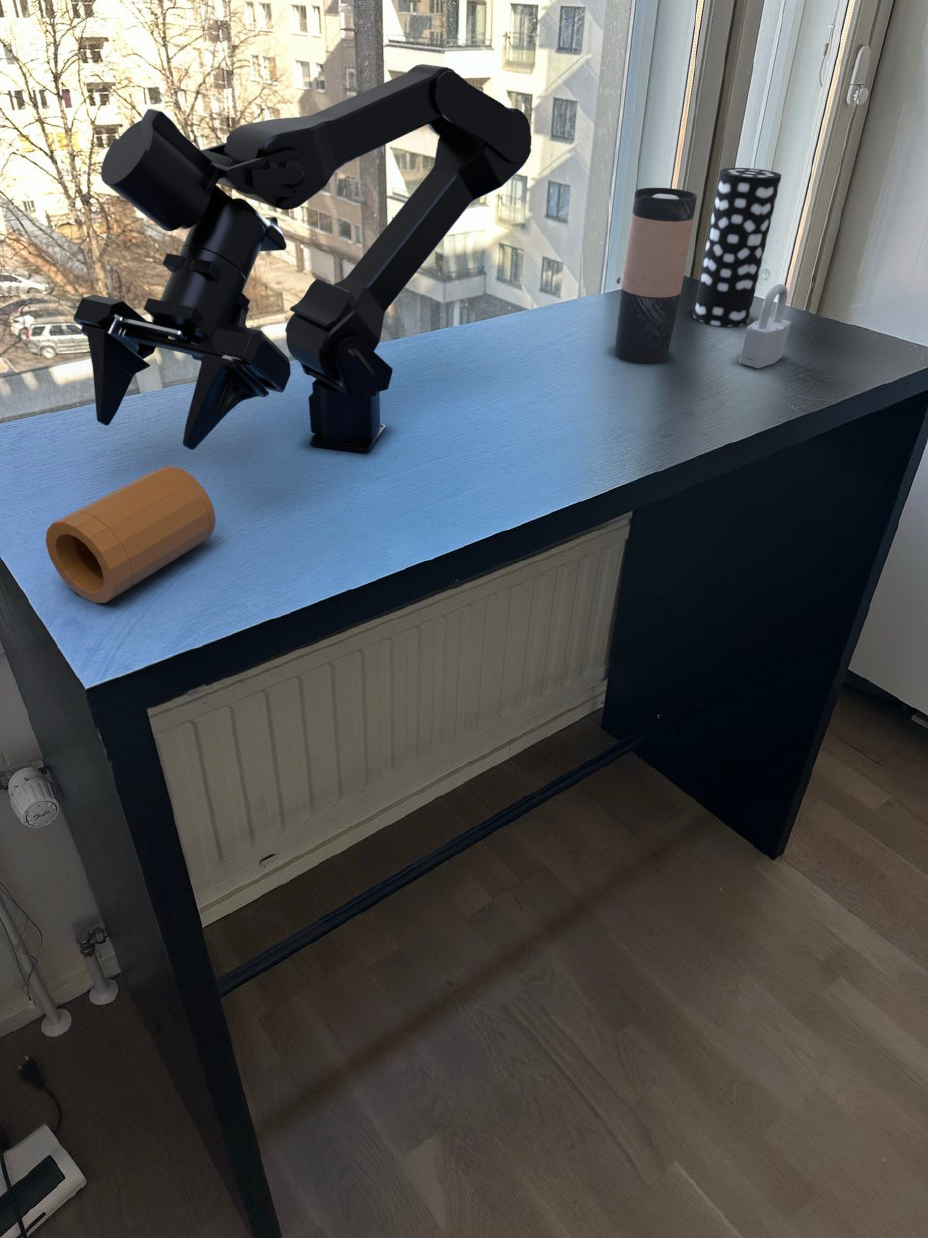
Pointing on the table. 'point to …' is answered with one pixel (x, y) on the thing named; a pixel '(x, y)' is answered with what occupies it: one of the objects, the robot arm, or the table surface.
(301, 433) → the table surface
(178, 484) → the jar
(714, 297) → the white-spotted black cylinder
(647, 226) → the travel mug
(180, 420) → the table surface
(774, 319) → the padlock
